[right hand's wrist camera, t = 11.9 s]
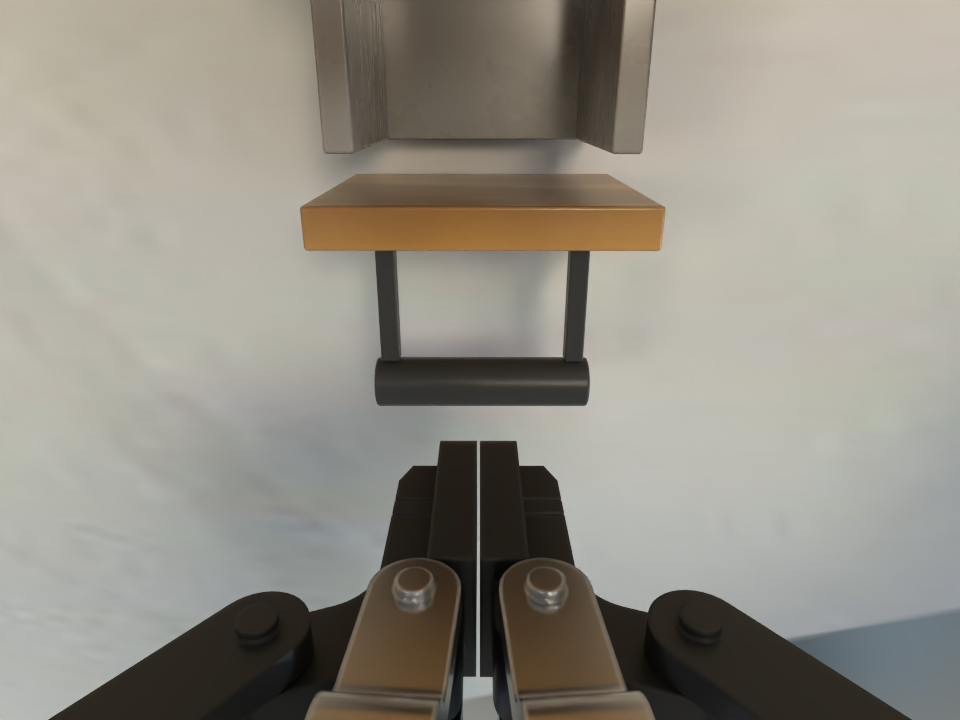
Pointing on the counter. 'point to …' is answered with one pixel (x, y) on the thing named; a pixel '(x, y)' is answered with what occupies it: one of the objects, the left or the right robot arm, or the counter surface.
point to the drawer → (482, 197)
